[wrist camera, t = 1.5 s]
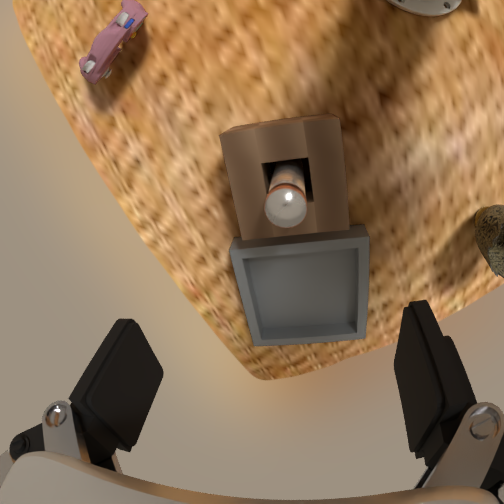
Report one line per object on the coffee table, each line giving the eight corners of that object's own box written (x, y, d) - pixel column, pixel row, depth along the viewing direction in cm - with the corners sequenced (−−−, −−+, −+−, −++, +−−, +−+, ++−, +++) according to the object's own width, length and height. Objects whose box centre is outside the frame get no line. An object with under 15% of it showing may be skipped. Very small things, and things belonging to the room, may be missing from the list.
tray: (364, 224, 33) (369, 236, 30) (362, 323, 40) (365, 338, 37) (234, 237, 36) (229, 250, 33) (256, 331, 43) (254, 346, 40)
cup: (462, 191, 28) (497, 219, 22) (506, 188, 27) (543, 215, 20) (457, 247, 32) (484, 283, 25) (499, 241, 30) (529, 274, 24)
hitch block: (331, 113, 27) (339, 118, 22) (341, 205, 32) (349, 229, 27) (233, 127, 29) (219, 135, 24) (251, 215, 34) (242, 240, 29)
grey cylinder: (301, 150, 30) (304, 185, 19) (305, 177, 31) (309, 225, 21) (273, 154, 30) (260, 191, 20) (277, 180, 32) (267, 230, 21)
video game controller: (109, 78, 29) (95, 95, 24) (80, 62, 26) (60, 77, 22) (159, 13, 25) (154, 15, 20) (129, -5, 22) (116, -6, 17)
